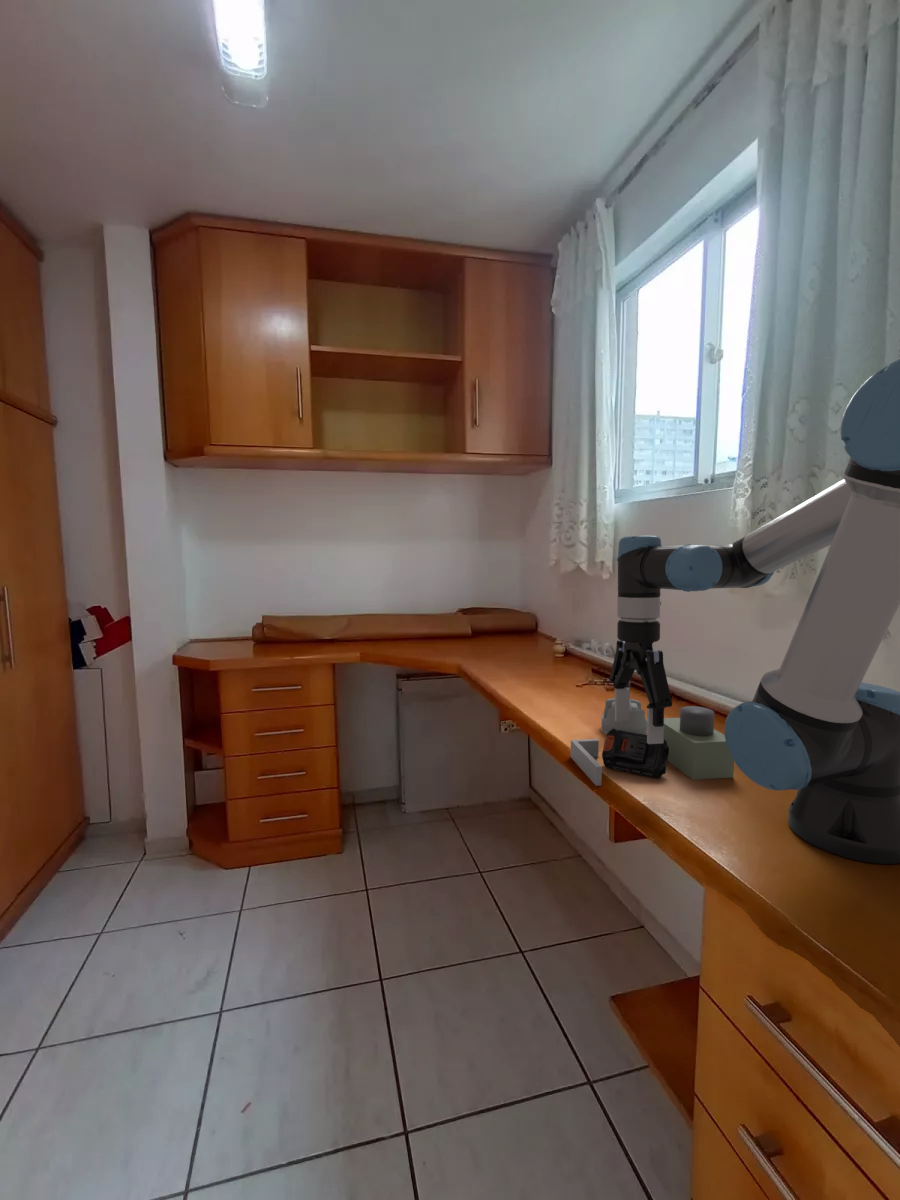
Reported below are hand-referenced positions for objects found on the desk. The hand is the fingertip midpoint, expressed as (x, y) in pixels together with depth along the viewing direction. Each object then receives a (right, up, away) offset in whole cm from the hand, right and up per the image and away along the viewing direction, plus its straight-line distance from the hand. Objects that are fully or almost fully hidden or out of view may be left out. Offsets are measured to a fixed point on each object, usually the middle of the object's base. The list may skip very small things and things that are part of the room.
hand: (637, 731), depth 104 cm
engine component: (+5, -6, +24) cm, 25 cm away
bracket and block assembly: (+3, -8, +3) cm, 9 cm away
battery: (0, -8, +1) cm, 8 cm away
